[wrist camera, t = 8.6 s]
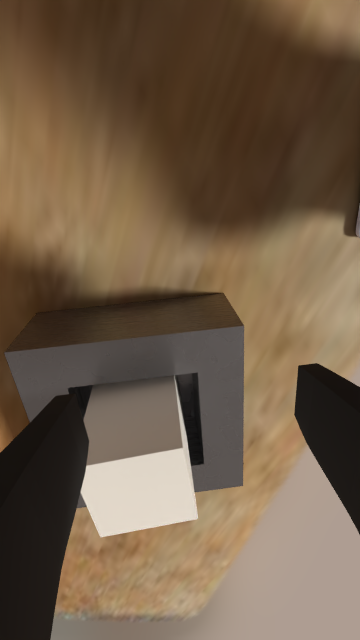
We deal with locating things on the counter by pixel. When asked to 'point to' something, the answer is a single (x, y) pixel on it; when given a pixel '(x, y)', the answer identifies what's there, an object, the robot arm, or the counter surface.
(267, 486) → the counter surface
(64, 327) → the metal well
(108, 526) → the ivory block
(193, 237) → the counter surface
